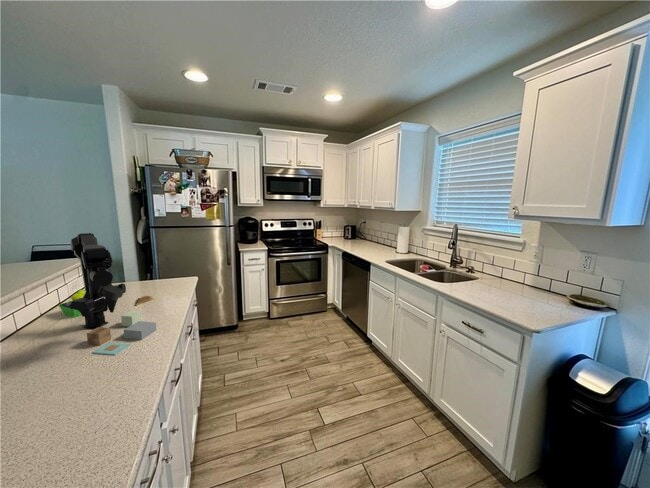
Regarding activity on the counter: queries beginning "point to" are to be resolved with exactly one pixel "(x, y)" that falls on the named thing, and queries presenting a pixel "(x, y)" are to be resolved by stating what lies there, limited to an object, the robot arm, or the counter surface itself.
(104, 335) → the walnut cube
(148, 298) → the shard
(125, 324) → the sage cube
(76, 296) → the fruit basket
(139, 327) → the slate block
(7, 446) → the counter surface
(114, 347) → the card
